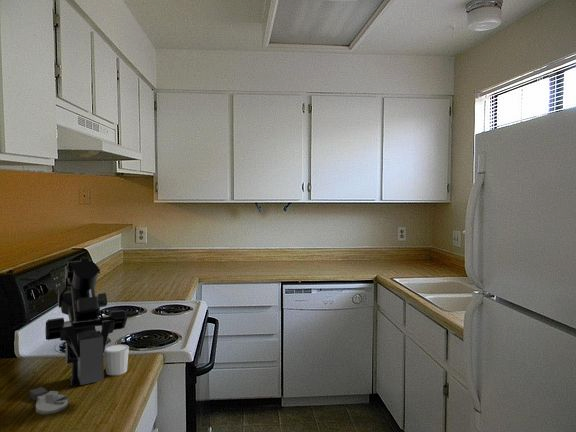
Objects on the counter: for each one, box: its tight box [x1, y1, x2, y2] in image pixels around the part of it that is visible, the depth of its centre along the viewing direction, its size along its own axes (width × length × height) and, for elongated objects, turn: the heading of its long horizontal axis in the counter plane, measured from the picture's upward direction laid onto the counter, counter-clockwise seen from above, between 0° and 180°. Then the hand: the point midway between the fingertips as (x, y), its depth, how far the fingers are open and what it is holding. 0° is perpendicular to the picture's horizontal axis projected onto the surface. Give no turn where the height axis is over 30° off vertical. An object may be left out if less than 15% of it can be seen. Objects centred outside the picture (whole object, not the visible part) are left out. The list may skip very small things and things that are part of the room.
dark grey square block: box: [77, 330, 105, 386], centre depth 108 cm, size 5×5×11 cm
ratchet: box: [29, 386, 69, 415], centre depth 108 cm, size 13×7×4 cm, turn 50°
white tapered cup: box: [103, 343, 130, 376], centre depth 127 cm, size 7×7×7 cm
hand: (91, 354), depth 107 cm, fingers closed on dark grey square block, 5 cm apart
